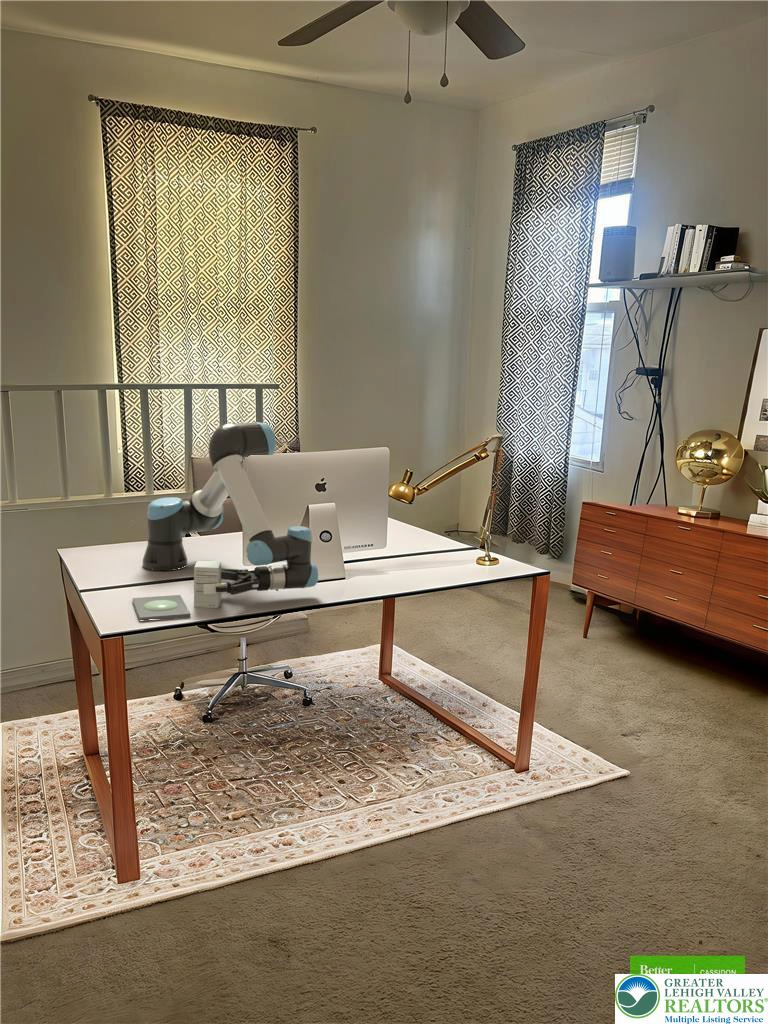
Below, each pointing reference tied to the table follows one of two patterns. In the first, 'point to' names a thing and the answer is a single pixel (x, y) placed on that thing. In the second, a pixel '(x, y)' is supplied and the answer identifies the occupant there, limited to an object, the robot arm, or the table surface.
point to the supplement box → (206, 575)
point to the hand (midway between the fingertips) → (199, 582)
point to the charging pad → (161, 607)
